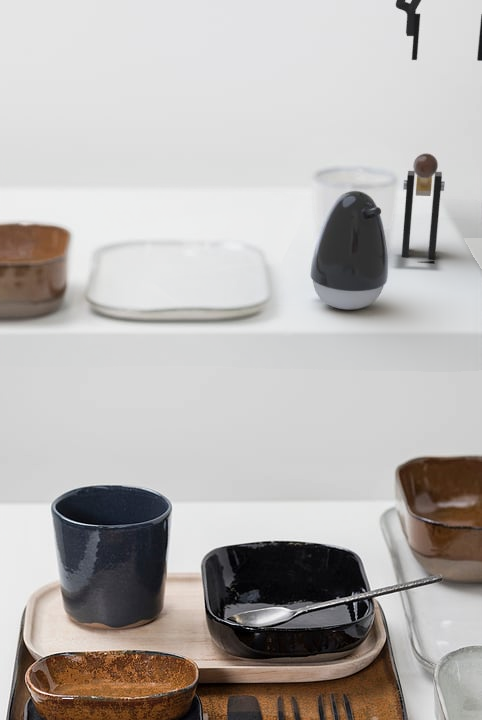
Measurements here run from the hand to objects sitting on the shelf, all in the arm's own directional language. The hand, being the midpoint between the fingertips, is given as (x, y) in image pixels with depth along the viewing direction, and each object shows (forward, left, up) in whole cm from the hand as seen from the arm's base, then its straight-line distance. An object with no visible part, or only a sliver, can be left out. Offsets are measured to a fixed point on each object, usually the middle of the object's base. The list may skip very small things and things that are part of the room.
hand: (447, 59), depth 165 cm
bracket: (+2, +9, -29) cm, 31 cm away
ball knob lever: (+2, +14, -17) cm, 22 cm away
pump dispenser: (+11, +35, -29) cm, 47 cm away
